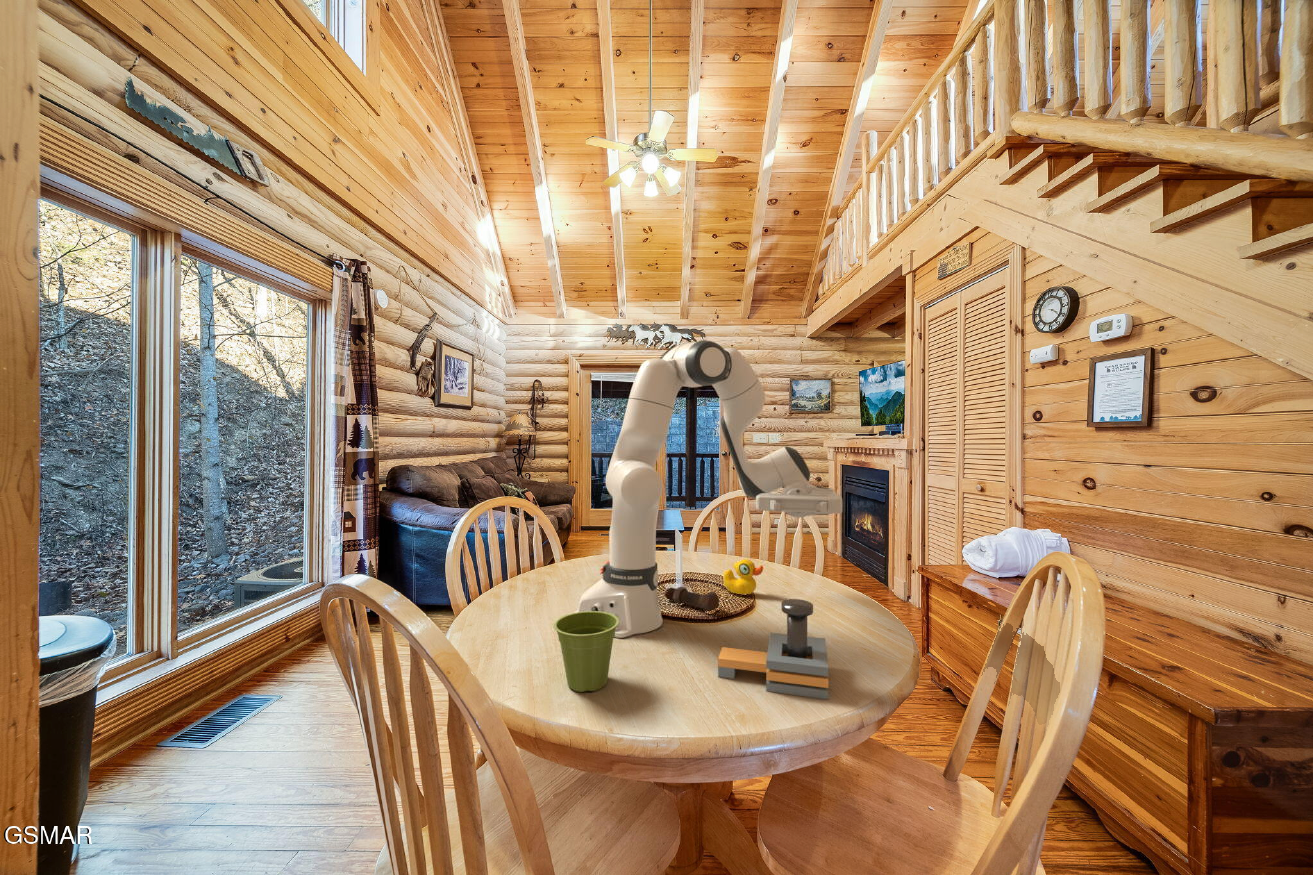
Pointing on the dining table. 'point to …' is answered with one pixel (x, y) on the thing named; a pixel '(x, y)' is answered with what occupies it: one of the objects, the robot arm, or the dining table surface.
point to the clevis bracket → (782, 666)
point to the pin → (797, 626)
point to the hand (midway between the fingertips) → (798, 507)
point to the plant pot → (586, 647)
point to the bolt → (693, 598)
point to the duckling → (742, 577)
